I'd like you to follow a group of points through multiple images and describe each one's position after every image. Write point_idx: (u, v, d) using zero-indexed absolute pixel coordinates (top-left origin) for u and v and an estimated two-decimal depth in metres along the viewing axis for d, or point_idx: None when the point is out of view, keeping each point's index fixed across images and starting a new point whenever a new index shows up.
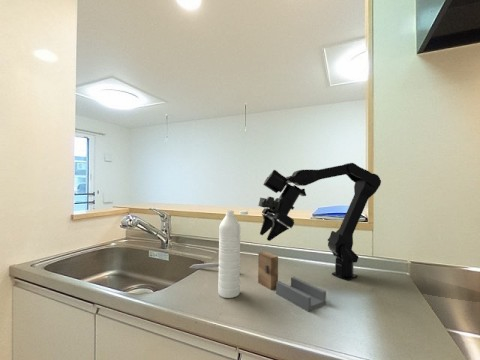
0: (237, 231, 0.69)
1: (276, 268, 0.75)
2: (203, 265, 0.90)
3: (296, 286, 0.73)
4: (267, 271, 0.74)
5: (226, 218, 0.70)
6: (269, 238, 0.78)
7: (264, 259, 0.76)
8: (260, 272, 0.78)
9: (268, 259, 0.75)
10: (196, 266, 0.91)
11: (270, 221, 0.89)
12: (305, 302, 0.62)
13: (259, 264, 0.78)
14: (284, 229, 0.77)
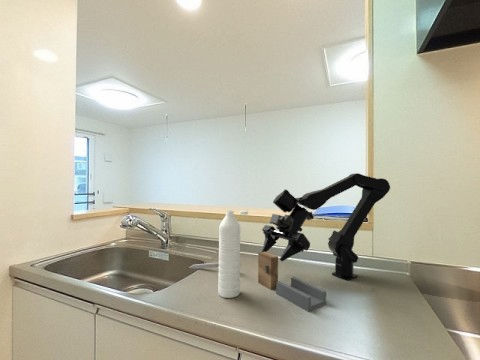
0: (237, 231, 0.69)
1: (276, 268, 0.75)
2: (203, 265, 0.90)
3: (296, 286, 0.73)
4: (267, 271, 0.74)
5: (226, 218, 0.70)
6: (282, 258, 0.74)
7: (264, 259, 0.76)
8: (260, 272, 0.78)
9: (268, 259, 0.75)
10: (196, 266, 0.91)
11: (272, 240, 0.85)
12: (305, 302, 0.62)
13: (259, 264, 0.78)
14: (298, 251, 0.76)
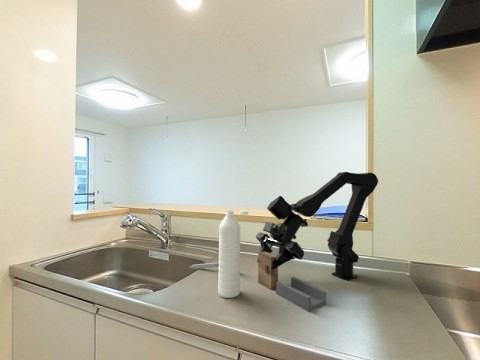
0: (237, 231, 0.69)
1: (276, 268, 0.75)
2: (203, 265, 0.90)
3: (296, 286, 0.73)
4: (267, 271, 0.74)
5: (226, 218, 0.70)
6: (273, 267, 0.73)
7: (264, 259, 0.76)
8: (260, 272, 0.78)
9: (268, 259, 0.75)
10: (196, 266, 0.91)
11: (268, 248, 0.82)
12: (305, 302, 0.62)
13: (259, 264, 0.78)
14: (289, 259, 0.75)
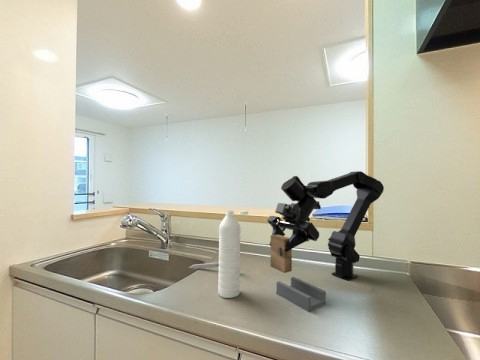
0: (237, 231, 0.69)
1: (290, 250, 0.71)
2: (203, 265, 0.90)
3: (296, 286, 0.73)
4: (280, 253, 0.71)
5: (226, 218, 0.70)
6: (287, 249, 0.70)
7: (276, 241, 0.73)
8: (273, 255, 0.74)
9: (281, 241, 0.71)
10: (196, 266, 0.91)
11: (280, 231, 0.79)
12: (305, 302, 0.62)
13: (271, 247, 0.75)
14: (303, 240, 0.71)
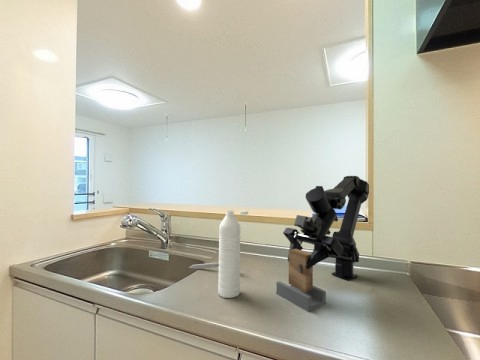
0: (237, 231, 0.69)
1: (311, 267, 0.66)
2: (203, 265, 0.90)
3: None
4: (301, 271, 0.66)
5: (226, 218, 0.70)
6: (308, 266, 0.65)
7: (296, 257, 0.68)
8: (291, 272, 0.69)
9: (301, 257, 0.66)
10: (196, 266, 0.91)
11: (298, 245, 0.73)
12: (305, 302, 0.62)
13: (290, 263, 0.70)
14: (325, 256, 0.66)
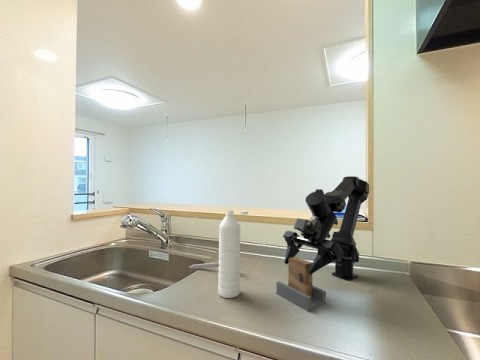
0: (237, 231, 0.69)
1: (310, 276, 0.66)
2: (202, 265, 0.90)
3: None
4: (300, 279, 0.66)
5: (226, 218, 0.70)
6: (312, 271, 0.64)
7: (296, 265, 0.68)
8: (291, 280, 0.69)
9: (301, 265, 0.66)
10: (195, 266, 0.91)
11: (295, 248, 0.74)
12: (305, 302, 0.62)
13: (289, 271, 0.70)
14: (329, 261, 0.65)
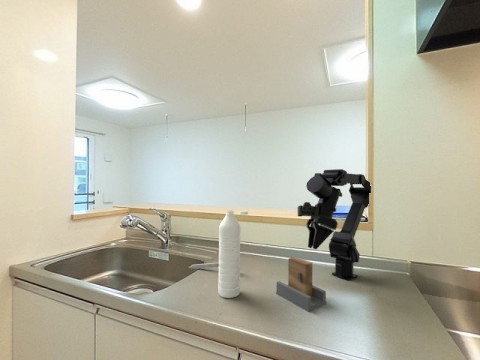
0: (237, 231, 0.69)
1: (310, 276, 0.66)
2: (202, 265, 0.90)
3: None
4: (300, 279, 0.66)
5: (226, 218, 0.70)
6: (315, 246, 0.71)
7: (296, 265, 0.68)
8: (291, 280, 0.69)
9: (301, 265, 0.66)
10: (195, 266, 0.91)
11: None
12: (305, 302, 0.62)
13: (289, 271, 0.70)
14: (329, 233, 0.70)
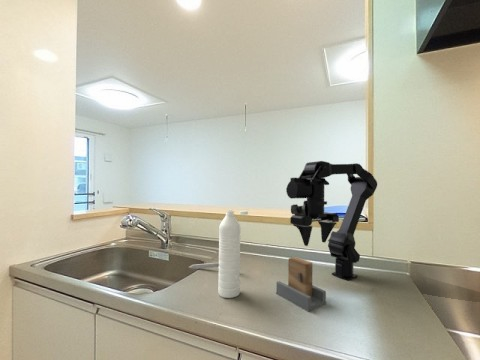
0: (237, 231, 0.69)
1: (310, 276, 0.66)
2: (202, 265, 0.90)
3: None
4: (300, 279, 0.66)
5: (226, 218, 0.70)
6: (305, 243, 0.77)
7: (296, 265, 0.68)
8: (291, 280, 0.69)
9: (301, 265, 0.66)
10: (195, 266, 0.91)
11: (326, 224, 0.82)
12: (305, 302, 0.62)
13: (289, 271, 0.70)
14: (307, 229, 0.74)
